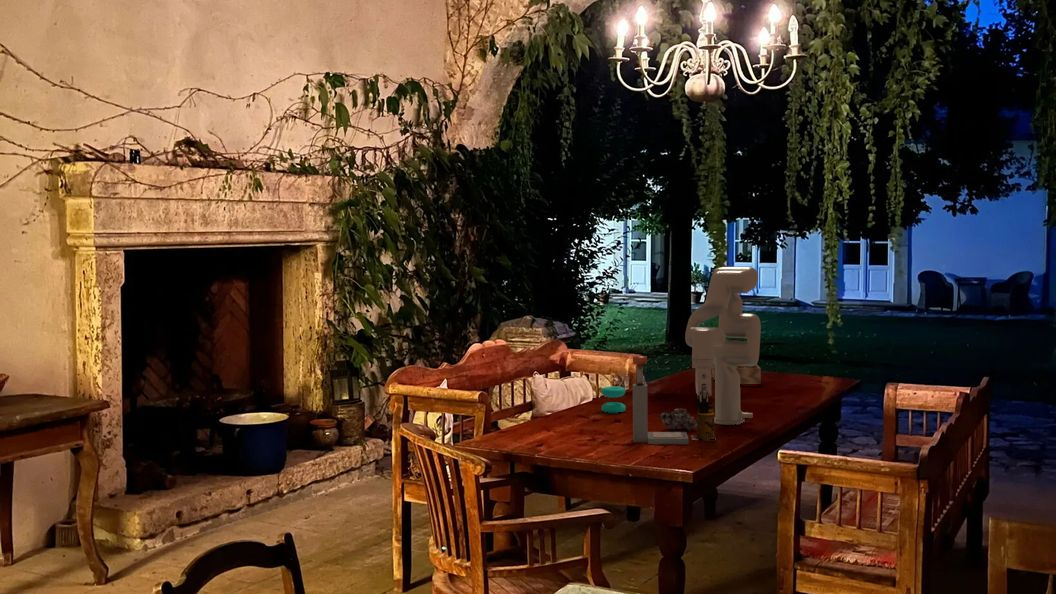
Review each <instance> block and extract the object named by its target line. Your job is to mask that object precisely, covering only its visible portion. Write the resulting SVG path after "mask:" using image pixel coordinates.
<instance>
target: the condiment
mask: <svg viewBox="0 0 1056 594" xmlns="http://www.w3.org/2000/svg"><path fill="white" fill-rule="evenodd" d="M697 411H698V412H697V414H696V423H697V426H696V428H697V429H696V434H697V435H693V434H692V435H690V438H692V439H691V440H692V441H694V440H695V441H700V440H699V439H702V440H701V441H711V440H710V439H714V437H715V440H714V441H716V440H717V439H716V436H715V423H714V417H715V413H714V406H713V405H712V404H709V406H708V414H700V413H699V406H698V409H697Z"/></svg>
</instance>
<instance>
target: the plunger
mask: <svg viewBox="0 0 1056 594" xmlns="http://www.w3.org/2000/svg"><path fill="white" fill-rule="evenodd" d="M632 364H633V365H636V384H637V386H643V384H644V380H643V379H644V376H643V375H644V373H643V371H644V366H643V365H647V364H648V356H646V355H634V356H632Z"/></svg>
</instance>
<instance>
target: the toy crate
mask: <svg viewBox="0 0 1056 594" xmlns="http://www.w3.org/2000/svg"><path fill="white" fill-rule="evenodd" d="M735 369H736V370H737V372H738V373H739V375H740V384H762V383H761V382H762V379H761V378H762V377H761V375H762V373H761V372H762V371H761V370H762V368H761V367H760V366H759V365H758V363H757V364H756V365H755V366H749V368H735ZM712 377H713V378H714V380H715V365H714V368H711V378H712Z"/></svg>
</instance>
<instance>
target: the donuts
mask: <svg viewBox="0 0 1056 594" xmlns="http://www.w3.org/2000/svg"><path fill="white" fill-rule="evenodd" d="M600 393H601V394H602V395H603V396H604V397H608V398H620V397H623V396H624V395H625V394H626V389H625V387H623V386H615V385H614V386H612V385H611V386H604V387H603V388H601V391H600ZM626 409H627V408H626V405H625V404H624V403H622V402H617V401H616V402H615V401H610V402H604V404H602V405H601V411H602V412H603V411H604V412H603V413H606V412H608V413H607V414H619V413H618V412H621V413H623V412H625V411H626Z"/></svg>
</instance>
